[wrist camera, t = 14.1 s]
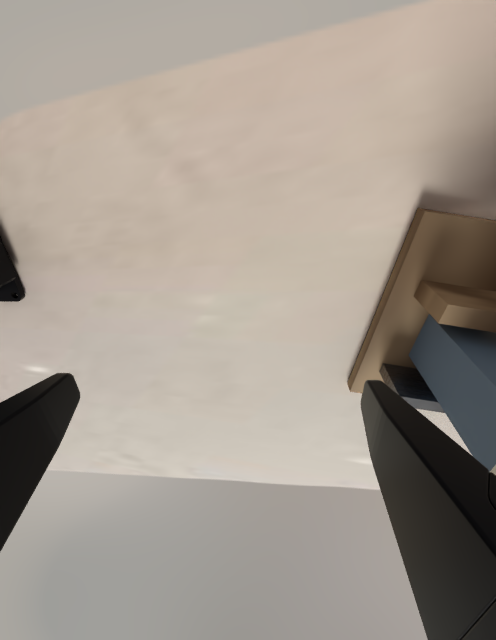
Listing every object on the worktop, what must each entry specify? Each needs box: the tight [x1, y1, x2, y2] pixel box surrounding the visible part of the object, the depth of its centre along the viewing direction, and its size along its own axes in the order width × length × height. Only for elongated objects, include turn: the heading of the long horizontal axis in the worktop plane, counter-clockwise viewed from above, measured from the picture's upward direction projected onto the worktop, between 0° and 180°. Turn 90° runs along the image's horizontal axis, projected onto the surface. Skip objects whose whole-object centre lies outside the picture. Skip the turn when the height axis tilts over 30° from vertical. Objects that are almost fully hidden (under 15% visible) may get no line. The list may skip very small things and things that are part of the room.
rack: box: [348, 208, 496, 413], centre depth 19 cm, size 11×14×8 cm
